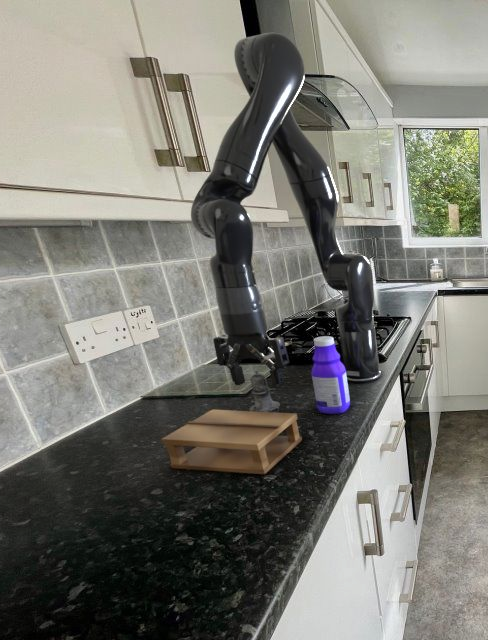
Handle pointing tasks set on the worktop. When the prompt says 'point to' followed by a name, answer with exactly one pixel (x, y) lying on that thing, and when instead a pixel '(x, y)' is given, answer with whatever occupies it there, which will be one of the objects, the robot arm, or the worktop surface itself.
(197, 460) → the oak rack
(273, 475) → the worktop surface
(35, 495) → the worktop surface
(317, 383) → the bottle
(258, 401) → the grey tall turned figure
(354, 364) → the robot arm
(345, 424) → the worktop surface
